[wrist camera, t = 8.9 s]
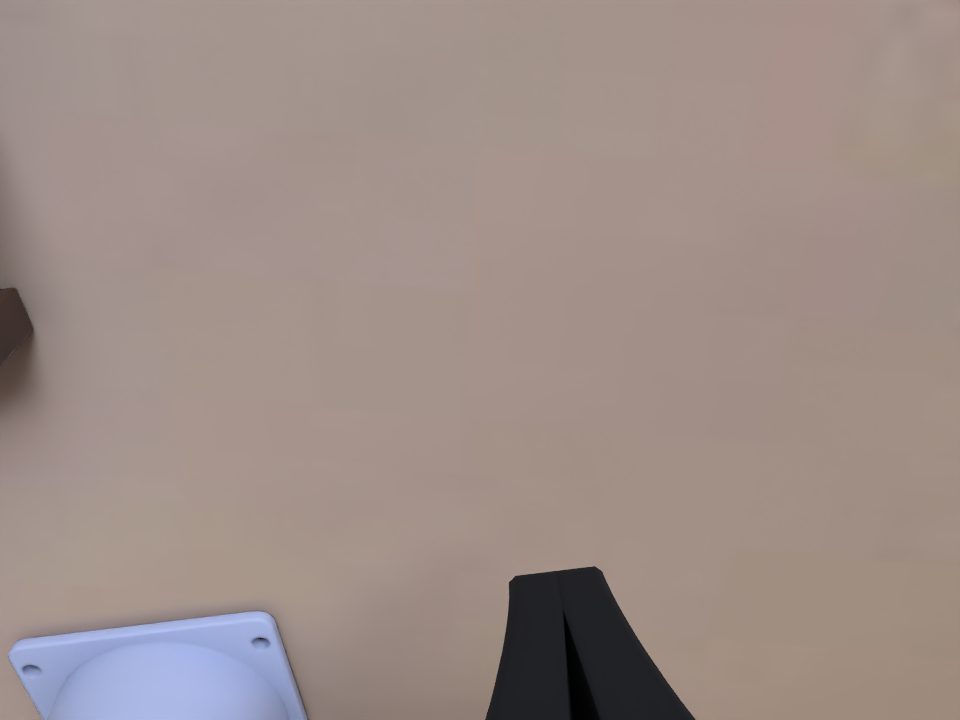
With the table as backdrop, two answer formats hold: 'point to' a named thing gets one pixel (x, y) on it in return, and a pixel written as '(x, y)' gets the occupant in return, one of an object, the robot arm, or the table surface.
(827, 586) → the table surface
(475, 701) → the table surface
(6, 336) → the frame
